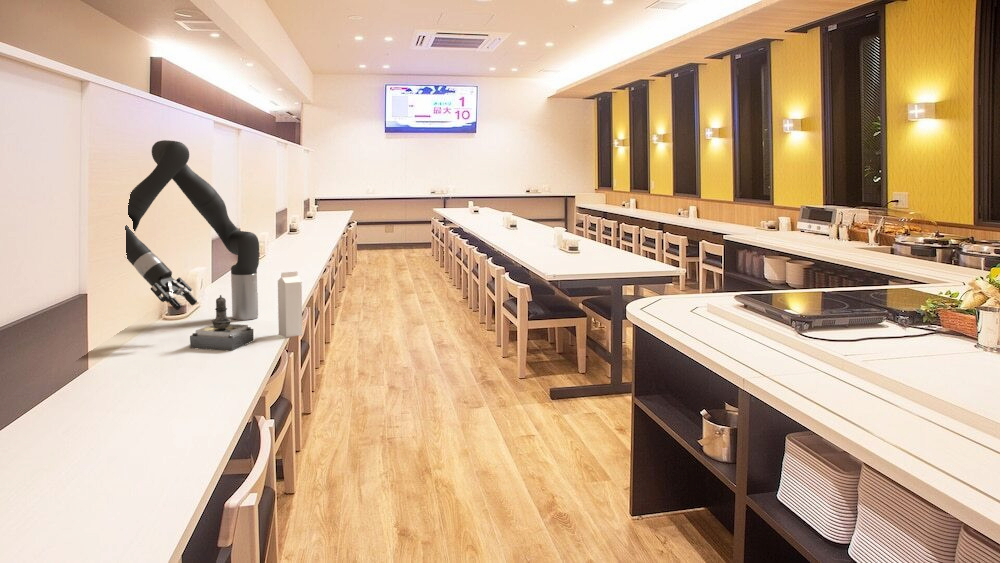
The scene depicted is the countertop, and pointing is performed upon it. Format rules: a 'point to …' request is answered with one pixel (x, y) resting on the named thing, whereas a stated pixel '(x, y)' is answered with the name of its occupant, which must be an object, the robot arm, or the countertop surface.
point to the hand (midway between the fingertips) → (187, 306)
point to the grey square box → (221, 337)
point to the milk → (290, 304)
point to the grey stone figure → (221, 316)
